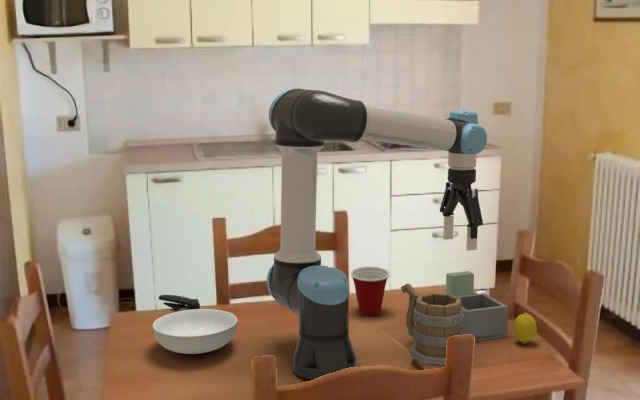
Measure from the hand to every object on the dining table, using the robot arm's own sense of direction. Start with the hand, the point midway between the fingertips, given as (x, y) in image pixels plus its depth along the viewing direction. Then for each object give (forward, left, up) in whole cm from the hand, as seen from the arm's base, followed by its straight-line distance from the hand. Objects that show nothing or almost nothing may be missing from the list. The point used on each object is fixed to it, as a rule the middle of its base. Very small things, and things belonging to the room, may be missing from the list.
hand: (459, 244), depth 214 cm
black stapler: (-74, +26, -20) cm, 81 cm away
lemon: (+4, -28, -20) cm, 34 cm away
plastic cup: (-24, +7, -20) cm, 31 cm away
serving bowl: (-74, -2, -20) cm, 76 cm away
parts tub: (-4, -16, -19) cm, 25 cm away
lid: (0, 0, -19) cm, 19 cm away
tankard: (-20, -23, -20) cm, 37 cm away
